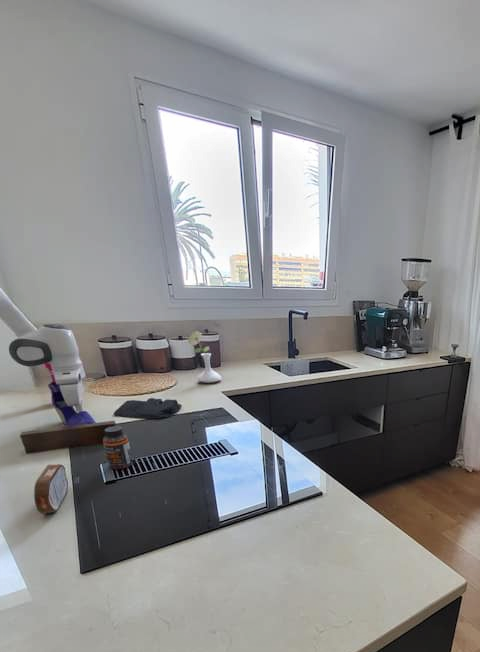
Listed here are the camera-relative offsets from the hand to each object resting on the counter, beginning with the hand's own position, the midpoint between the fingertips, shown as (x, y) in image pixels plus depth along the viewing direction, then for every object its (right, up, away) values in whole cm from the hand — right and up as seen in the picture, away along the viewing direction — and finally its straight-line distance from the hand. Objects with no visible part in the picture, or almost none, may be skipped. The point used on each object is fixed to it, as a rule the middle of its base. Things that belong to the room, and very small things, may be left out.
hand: (80, 411), depth 141 cm
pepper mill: (-20, +5, +20) cm, 29 cm away
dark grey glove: (+18, +1, +13) cm, 22 cm away
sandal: (+2, -6, -3) cm, 7 cm away
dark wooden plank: (+11, -12, -18) cm, 25 cm away
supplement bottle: (+33, -19, -30) cm, 48 cm away
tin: (+29, -27, -48) cm, 62 cm away
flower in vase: (+25, +20, +55) cm, 64 cm away
